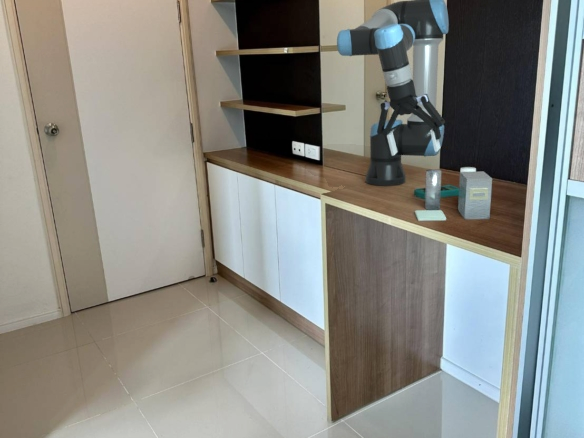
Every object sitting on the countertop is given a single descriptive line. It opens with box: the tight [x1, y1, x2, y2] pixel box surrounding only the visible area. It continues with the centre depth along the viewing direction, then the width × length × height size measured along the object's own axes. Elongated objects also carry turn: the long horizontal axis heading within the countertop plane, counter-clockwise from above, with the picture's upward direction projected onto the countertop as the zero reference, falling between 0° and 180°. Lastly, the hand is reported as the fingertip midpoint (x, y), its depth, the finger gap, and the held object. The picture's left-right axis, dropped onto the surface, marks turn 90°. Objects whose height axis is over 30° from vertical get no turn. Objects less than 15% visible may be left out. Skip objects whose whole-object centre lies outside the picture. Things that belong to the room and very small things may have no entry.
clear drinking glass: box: [424, 169, 442, 210], centre depth 168 cm, size 5×5×12 cm
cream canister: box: [459, 166, 477, 173], centre depth 169 cm, size 5×5×12 cm
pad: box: [414, 209, 447, 222], centre depth 161 cm, size 8×8×1 cm
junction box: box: [457, 170, 493, 220], centre depth 160 cm, size 11×7×12 cm, turn 174°
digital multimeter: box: [413, 184, 459, 200], centre depth 185 cm, size 7×15×3 cm, turn 105°
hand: (415, 151), depth 159 cm, fingers open, 13 cm apart
